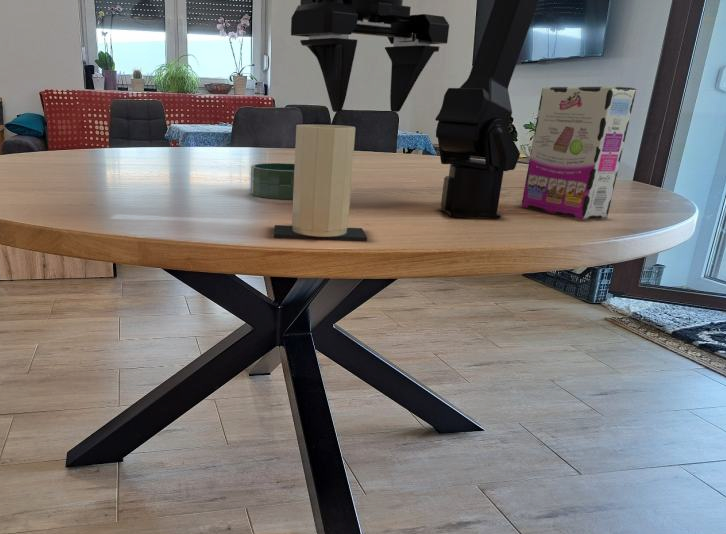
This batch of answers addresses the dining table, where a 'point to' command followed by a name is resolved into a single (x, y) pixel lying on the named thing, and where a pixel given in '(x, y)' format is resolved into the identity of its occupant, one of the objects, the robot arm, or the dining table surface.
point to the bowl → (273, 180)
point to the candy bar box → (577, 150)
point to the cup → (322, 179)
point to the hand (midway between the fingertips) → (367, 111)
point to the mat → (351, 234)
